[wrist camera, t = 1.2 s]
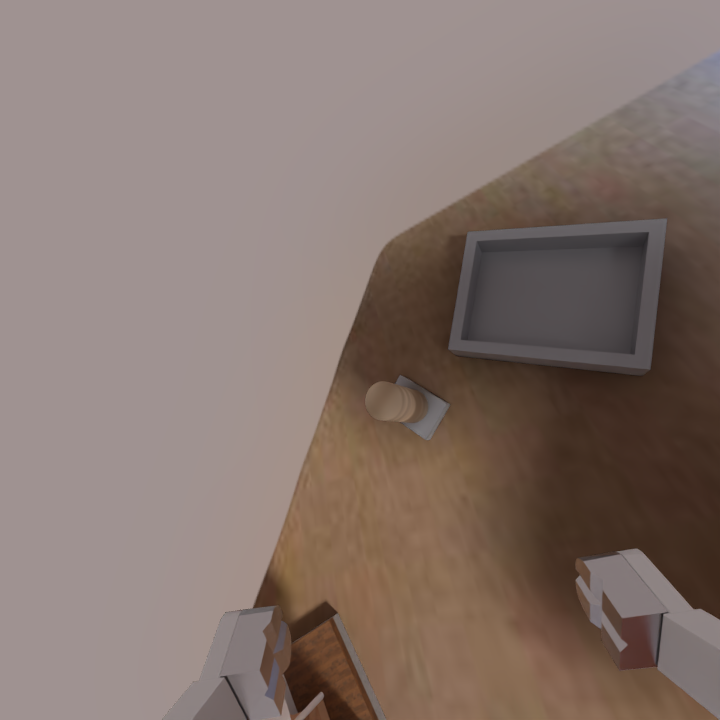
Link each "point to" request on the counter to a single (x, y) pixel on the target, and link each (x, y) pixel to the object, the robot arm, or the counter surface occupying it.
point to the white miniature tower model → (327, 678)
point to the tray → (562, 295)
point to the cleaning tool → (406, 405)
